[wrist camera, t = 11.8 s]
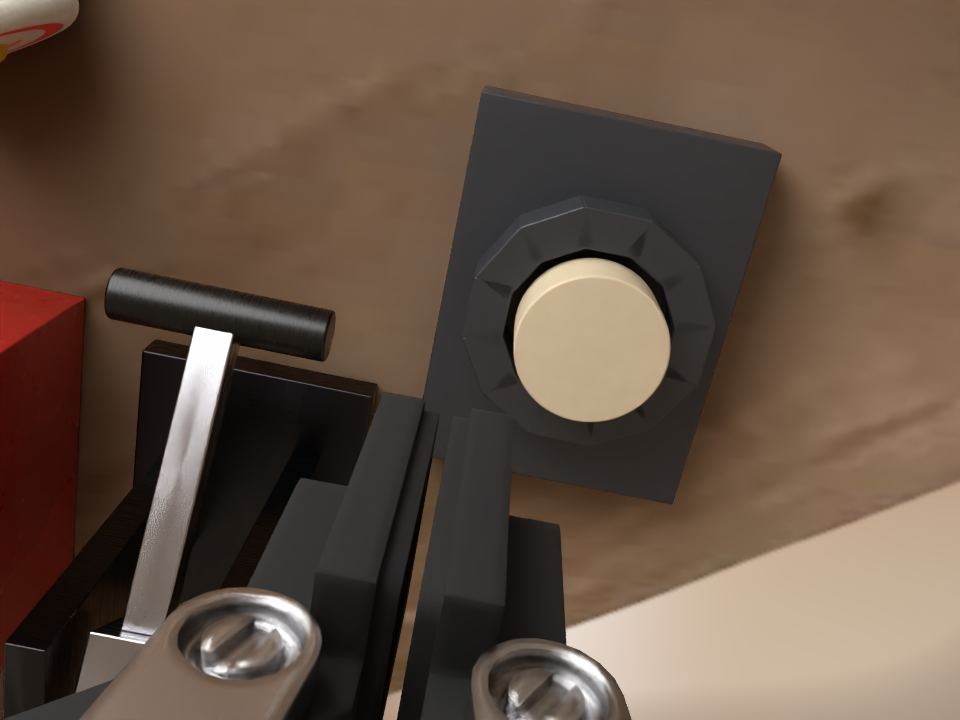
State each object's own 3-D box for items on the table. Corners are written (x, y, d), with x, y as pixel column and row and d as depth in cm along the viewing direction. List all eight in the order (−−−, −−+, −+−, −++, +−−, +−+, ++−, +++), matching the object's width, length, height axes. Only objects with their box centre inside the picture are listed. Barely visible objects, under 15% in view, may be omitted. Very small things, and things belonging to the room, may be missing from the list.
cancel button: (531, 243, 27) (532, 261, 25) (678, 273, 27) (690, 293, 25) (501, 380, 28) (499, 406, 27) (639, 408, 29) (648, 436, 27)
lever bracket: (155, 338, 32) (-64, 528, 20) (378, 383, 33) (292, 597, 21) (137, 574, 36) (-58, 855, 24) (338, 614, 36) (245, 911, 24)
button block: (485, 85, 29) (478, 95, 25) (764, 143, 29) (799, 163, 25) (419, 425, 33) (406, 478, 29) (663, 474, 33) (680, 533, 30)
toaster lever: (134, 276, 27) (105, 257, 24) (339, 318, 27) (330, 303, 24) (25, 707, 25) (-18, 731, 23) (244, 749, 25) (224, 777, 23)
